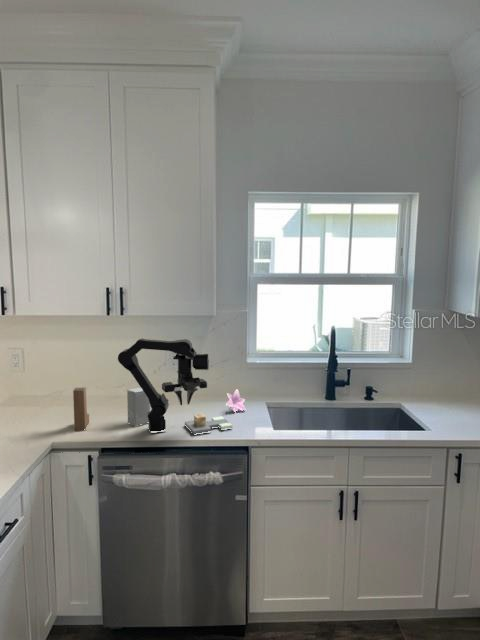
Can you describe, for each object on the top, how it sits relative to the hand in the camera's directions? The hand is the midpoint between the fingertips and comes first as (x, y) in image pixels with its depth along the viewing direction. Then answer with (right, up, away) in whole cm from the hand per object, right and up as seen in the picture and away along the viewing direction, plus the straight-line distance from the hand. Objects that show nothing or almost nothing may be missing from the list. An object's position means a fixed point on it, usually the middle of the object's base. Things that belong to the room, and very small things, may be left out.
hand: (184, 404), depth 188 cm
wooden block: (-46, -11, +5) cm, 48 cm away
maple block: (+6, -10, +4) cm, 12 cm away
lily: (+21, -9, +29) cm, 37 cm away
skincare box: (-22, -11, +11) cm, 27 cm away
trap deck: (+10, -11, +6) cm, 16 cm away
